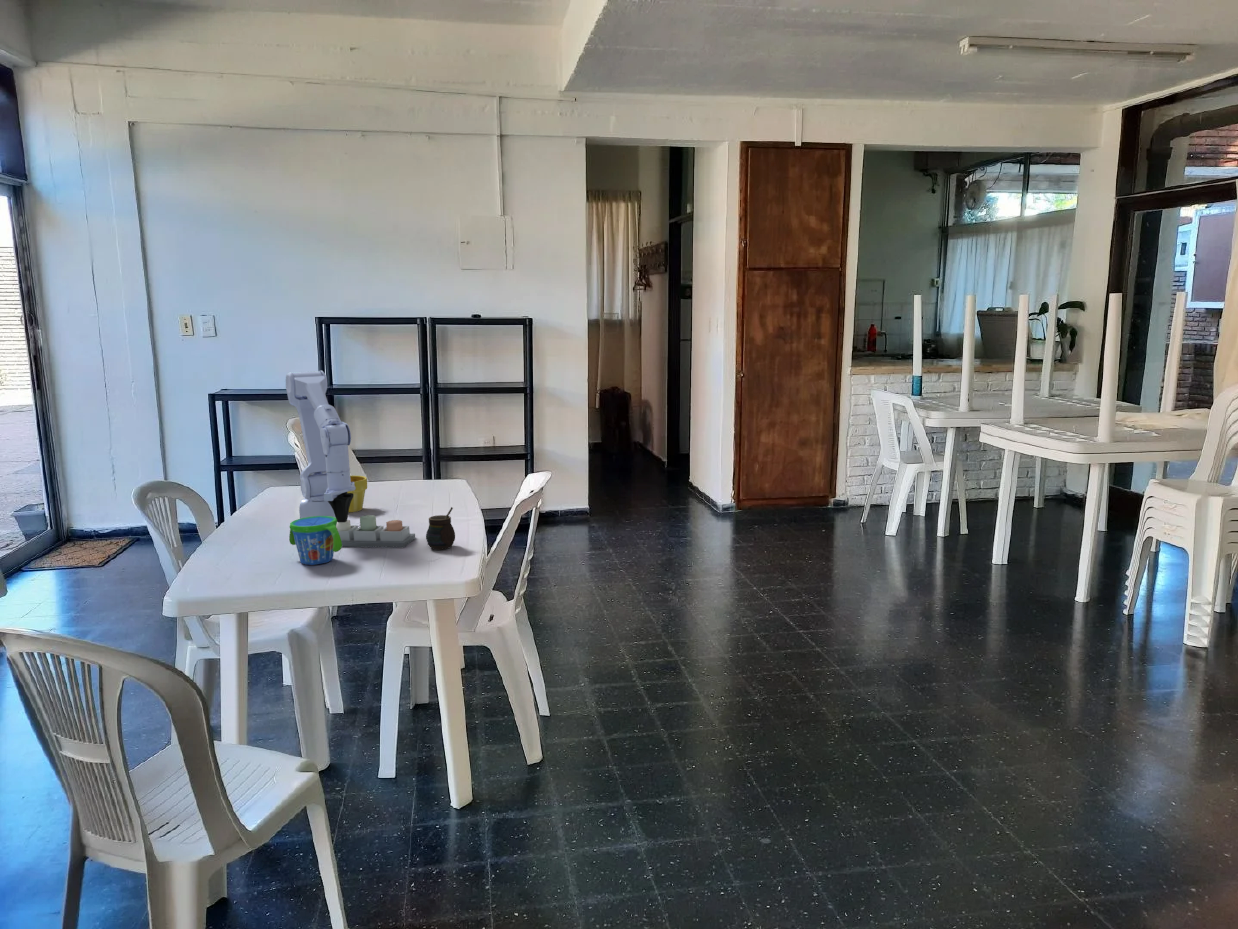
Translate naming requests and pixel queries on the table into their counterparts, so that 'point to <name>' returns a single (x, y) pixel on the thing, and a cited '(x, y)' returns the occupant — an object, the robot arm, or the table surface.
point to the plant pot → (358, 493)
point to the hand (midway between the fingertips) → (342, 521)
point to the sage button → (368, 523)
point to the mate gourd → (440, 532)
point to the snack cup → (315, 539)
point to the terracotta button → (394, 525)
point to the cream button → (343, 526)
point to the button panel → (376, 537)
